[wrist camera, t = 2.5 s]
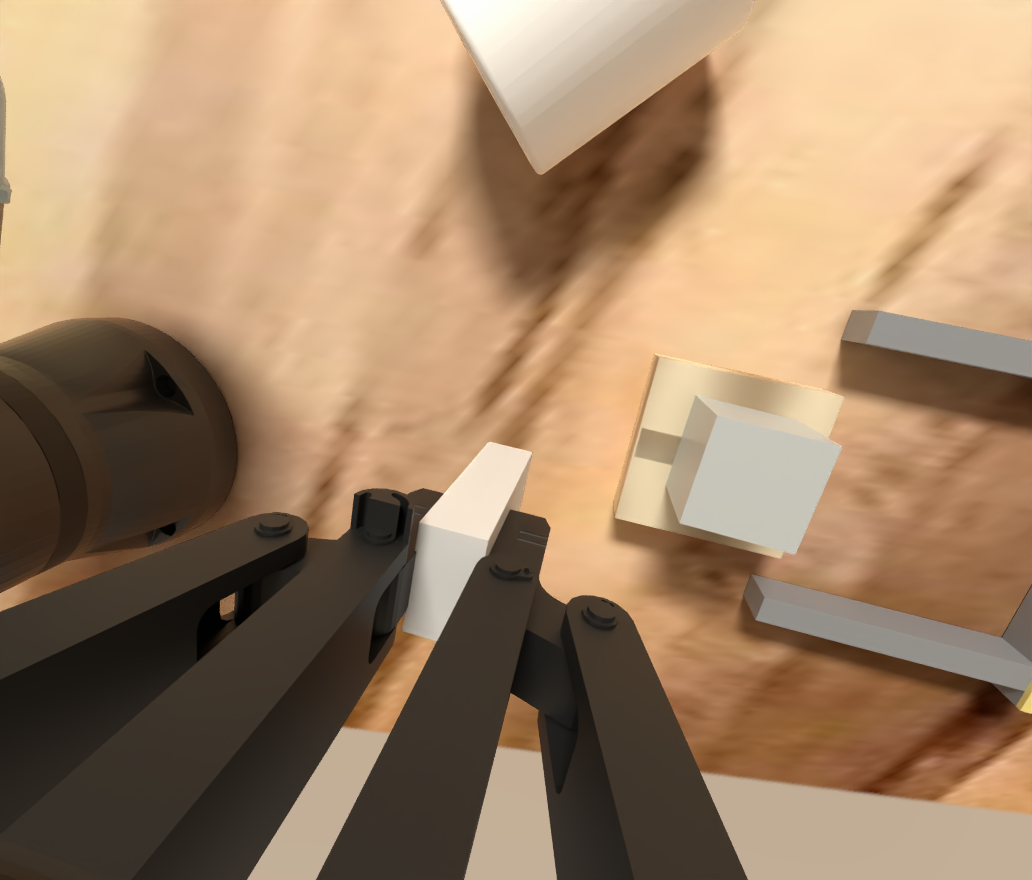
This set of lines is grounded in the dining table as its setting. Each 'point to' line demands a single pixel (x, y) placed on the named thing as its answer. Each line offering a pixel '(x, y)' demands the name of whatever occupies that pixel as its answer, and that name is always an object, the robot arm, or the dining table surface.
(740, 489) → the light grey cube
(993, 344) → the dock
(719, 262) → the dining table surface
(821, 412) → the pallet
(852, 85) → the dining table surface
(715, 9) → the mug
